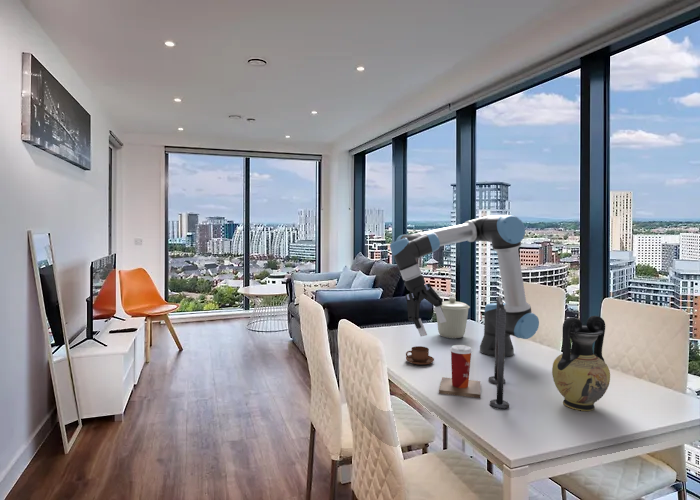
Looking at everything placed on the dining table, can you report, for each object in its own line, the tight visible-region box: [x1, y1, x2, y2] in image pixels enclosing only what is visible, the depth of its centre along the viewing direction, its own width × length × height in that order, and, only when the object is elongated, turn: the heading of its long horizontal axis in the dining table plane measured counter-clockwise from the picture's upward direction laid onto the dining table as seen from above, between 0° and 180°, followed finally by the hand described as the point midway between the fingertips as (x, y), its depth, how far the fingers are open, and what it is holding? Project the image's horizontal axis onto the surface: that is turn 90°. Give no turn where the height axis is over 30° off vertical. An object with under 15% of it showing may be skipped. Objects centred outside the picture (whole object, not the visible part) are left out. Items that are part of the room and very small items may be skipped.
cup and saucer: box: [405, 345, 435, 366], centre depth 194 cm, size 12×12×6 cm
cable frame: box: [488, 296, 510, 411], centre depth 159 cm, size 30×6×33 cm, turn 164°
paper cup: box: [449, 344, 473, 388], centre depth 163 cm, size 8×8×14 cm
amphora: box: [551, 315, 611, 412], centre depth 149 cm, size 18×17×30 cm
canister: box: [436, 296, 471, 339], centre depth 240 cm, size 18×18×21 cm
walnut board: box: [438, 376, 481, 399], centre depth 164 cm, size 14×14×1 cm
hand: (433, 328), depth 174 cm, fingers open, 13 cm apart
